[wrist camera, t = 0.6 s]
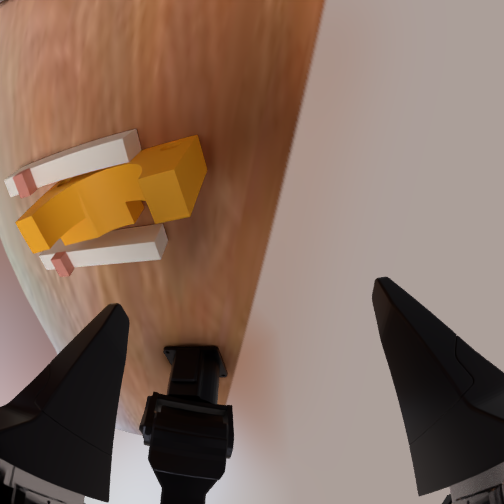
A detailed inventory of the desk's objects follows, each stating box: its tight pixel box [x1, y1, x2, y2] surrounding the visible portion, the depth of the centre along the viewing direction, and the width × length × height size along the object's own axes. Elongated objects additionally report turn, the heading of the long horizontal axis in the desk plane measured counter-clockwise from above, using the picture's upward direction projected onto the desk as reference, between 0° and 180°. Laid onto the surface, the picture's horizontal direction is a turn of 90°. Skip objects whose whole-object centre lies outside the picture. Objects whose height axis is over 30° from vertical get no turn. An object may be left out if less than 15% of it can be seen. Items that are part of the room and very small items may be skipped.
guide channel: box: [4, 129, 168, 277], centre depth 19 cm, size 9×12×3 cm
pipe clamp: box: [15, 135, 207, 254], centre depth 17 cm, size 12×4×6 cm, turn 101°
